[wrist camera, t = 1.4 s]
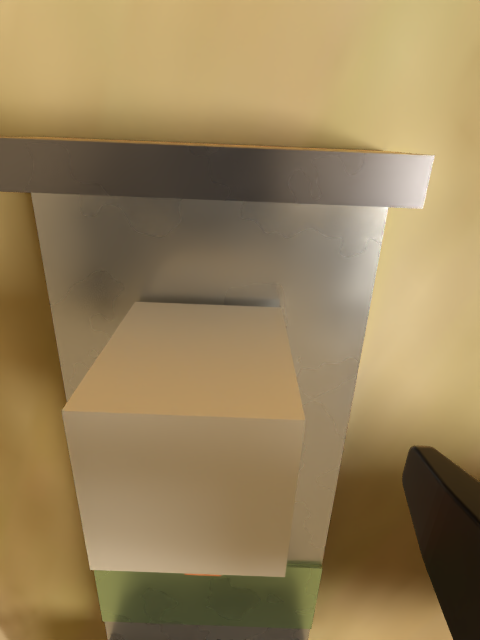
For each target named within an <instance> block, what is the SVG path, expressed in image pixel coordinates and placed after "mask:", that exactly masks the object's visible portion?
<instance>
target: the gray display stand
mask: <svg viewBox="0 0 480 640" xmlns="http://www.w3.org/2000/svg"><path fill="white" fill-rule="evenodd" d="M433 161H434V156H433V155H423V154H412V153H401V152H391V151H374V150H349V149H325V148H301V147H277V146H252V145H228V144H204V143H179V142H155V141H131V140H107V139H82V138H58V137H0V191H2V192H27V193H31V196H32V202H33V208H34V214H35V220H36V225H37V231H38V237H39V243H40V249H41V255H42V260H43V266H44V272H45V278H46V284H47V290H48V295H49V301H50V307H51V313H52V319H53V325H54V330H55V336H56V342H57V348H58V354H59V360H60V365H61V371H62V377H63V383H64V389H65V394H66V400H67V402H68V400H69V399H70V397H71V396H72V394H73V393H74V391H75V390H76V388H77V387H78V385H79V384H80V383H81V381H82V380H83V378H84V377H85V375H86V374H87V372H88V371H89V369H90V368H91V366H92V365H93V363H94V362H95V360H96V359H97V357H98V356H99V354H100V353H101V351H102V350H103V348H104V347H105V345H106V344H107V343H108V341H109V340H110V338H111V337H112V335H113V334H114V332H115V331H116V329H117V328H118V326H119V325H120V323H121V322H122V320H123V319H124V317H125V316H126V314H127V313H128V311H129V310H130V308H131V307H132V305H133V304H134V303H135V302H157V303H182V304H207V305H233V306H258V307H282V312H283V316H284V321H285V326H286V331H287V335H288V340H289V345H290V349H291V354H292V359H293V364H294V368H295V373H296V378H297V383H298V387H299V392H300V397H301V401H302V406H303V411H304V416H305V428H304V435H303V443H302V451H301V458H300V466H299V474H298V481H297V489H296V497H295V504H294V512H293V520H292V527H291V535H290V543H289V550H288V558H287V566H286V573H285V577H267V576H240V575H221V576H199V575H185V573H159V572H132V571H106V570H94V575H95V581H96V587H97V593H98V598H99V604H100V610H101V615H102V621H104V622H105V628H106V633H107V639H108V640H308V637H309V631H310V629H311V627H312V622H313V617H314V612H315V606H316V601H317V596H318V590H319V585H320V580H321V574H322V569H323V568H322V561H323V556H324V551H325V545H326V540H327V534H328V529H329V524H330V518H331V513H332V508H333V502H334V497H335V491H336V486H337V481H338V475H339V470H340V465H341V459H342V454H343V448H344V443H345V438H346V432H347V427H348V422H349V416H350V411H351V406H352V400H353V395H354V389H355V384H356V379H357V373H358V368H359V363H360V357H361V352H362V346H363V341H364V336H365V330H366V325H367V320H368V314H369V309H370V303H371V298H372V293H373V287H374V282H375V277H376V271H377V266H378V260H379V255H380V250H381V244H382V239H383V234H384V228H385V223H386V217H387V212H388V207H395V208H420V209H423V206H424V201H425V197H426V192H427V188H428V183H429V179H430V174H431V170H432V165H433Z"/></svg>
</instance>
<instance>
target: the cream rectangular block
mask: <svg viewBox="0 0 480 640" xmlns="http://www.w3.org/2000/svg"><path fill="white" fill-rule="evenodd" d="M62 417H63V422H64V428H65V434H66V439H67V445H68V450H69V456H70V461H71V467H72V472H73V478H74V483H75V489H76V495H77V500H78V506H79V511H80V517H81V522H82V528H83V533H84V539H85V544H86V550H87V556H88V561H89V567H90V570H106V571H132V572H159V573H185V575H199V576H221V575H240V576H267V577H285V573H286V566H287V558H288V550H289V543H290V535H291V527H292V520H293V512H294V504H295V497H296V489H297V481H298V474H299V466H300V458H301V451H302V443H303V435H304V428H305V416H304V411H303V406H302V401H301V397H300V392H299V387H298V383H297V378H296V373H295V368H294V364H293V359H292V354H291V349H290V345H289V340H288V335H287V331H286V326H285V321H284V316H283V312H282V307H258V306H233V305H207V304H182V303H157V302H135V303H134V304H133V305H132V307H131V308H130V310H129V311H128V313H127V314H126V316H125V317H124V319H123V320H122V322H121V323H120V325H119V326H118V328H117V329H116V331H115V332H114V334H113V335H112V337H111V338H110V340H109V341H108V343H107V344H106V345H105V347H104V348H103V350H102V351H101V353H100V354H99V356H98V357H97V359H96V360H95V362H94V363H93V365H92V366H91V368H90V369H89V371H88V372H87V374H86V375H85V377H84V378H83V380H82V381H81V383H80V384H79V385H78V387H77V388H76V390H75V391H74V393H73V394H72V396H71V397H70V399H69V400H68V402H67V403H66V405H65V406H64V408H63V409H62Z"/></svg>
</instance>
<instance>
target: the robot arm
mask: <svg viewBox="0 0 480 640" xmlns="http://www.w3.org/2000/svg"><path fill="white" fill-rule="evenodd" d="M402 482H403V487H404V491H405V495H406V499H407V502H408V506H409V510H410V514H411V517H412V521H413V525H414V529H415V532H416V536H417V540H418V544H419V547H420V551H421V554H422V558H423V560H424V563H425V566H426V569H427V572H428V574H429V577H430V580H431V582H432V585H433V588H434V590H435V593H436V595H437V598H438V601H439V603H440V606H441V609H442V611H443V614H444V617H445V619H446V622H447V624H448V627H449V630H450V632H451V635H452V638H453V640H480V482H479V481H477V480H476V479H475V478H473V477H472V476H471V475H469V474H468V473H467V472H465V471H464V470H463V469H461V468H460V467H458V466H457V465H456V464H454V463H453V462H452V461H450V460H449V459H448V458H446V457H445V456H444V455H442V454H441V453H440V452H438V451H437V450H436V449H434V448H433V447H430V446H412V447H411V448H410V450H409V453H408V456H407V460H406V464H405V467H404V471H403V476H402Z"/></svg>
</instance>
